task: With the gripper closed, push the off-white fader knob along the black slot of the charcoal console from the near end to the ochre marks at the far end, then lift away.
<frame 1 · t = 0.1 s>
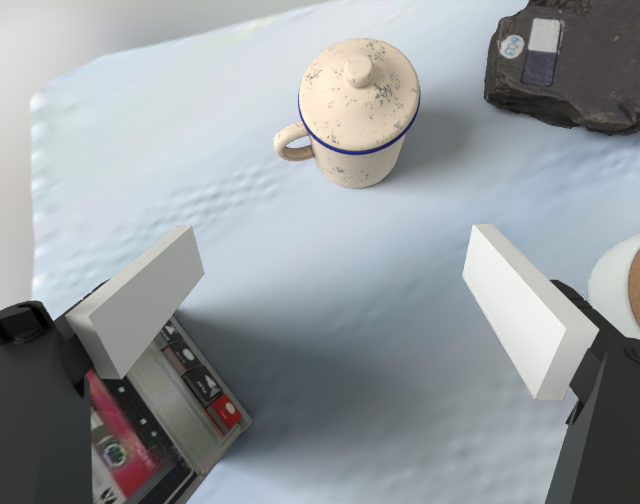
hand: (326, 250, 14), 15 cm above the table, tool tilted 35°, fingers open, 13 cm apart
rock sample: (563, 81, 30), on the table
cassette tape recorder: (190, 380, 30), on the table
teacup with lid: (342, 154, 31), on the table
lidded jar: (623, 294, 27), on the table
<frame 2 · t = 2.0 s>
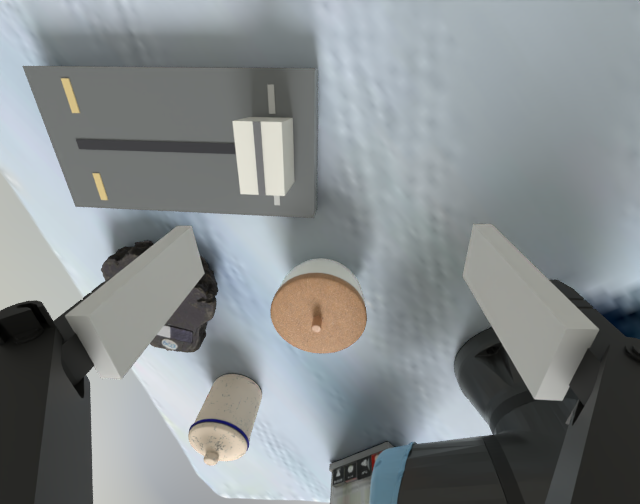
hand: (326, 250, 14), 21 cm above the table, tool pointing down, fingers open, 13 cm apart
fader console: (192, 143, 34), on the table
fader knob: (267, 155, 28), point 6 cm above the table, slide at 0.0 cm
rock sample: (179, 286, 44), on the table
cassette tape recorder: (366, 458, 58), on the table
teacup with lid: (241, 394, 53), on the table
lidded jar: (324, 279, 40), on the table
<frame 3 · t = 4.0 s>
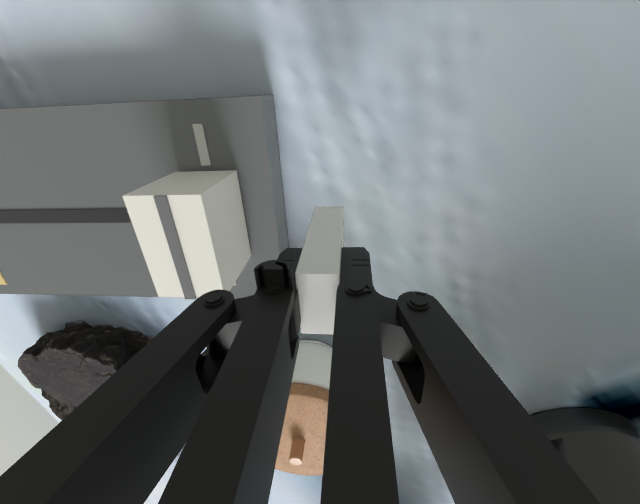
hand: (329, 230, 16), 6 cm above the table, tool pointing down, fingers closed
fader console: (112, 202, 24), on the table
fader knob: (198, 231, 18), point 6 cm above the table, slide at 0.0 cm
rock sample: (130, 369, 35), on the table
lidded jar: (311, 360, 31), on the table
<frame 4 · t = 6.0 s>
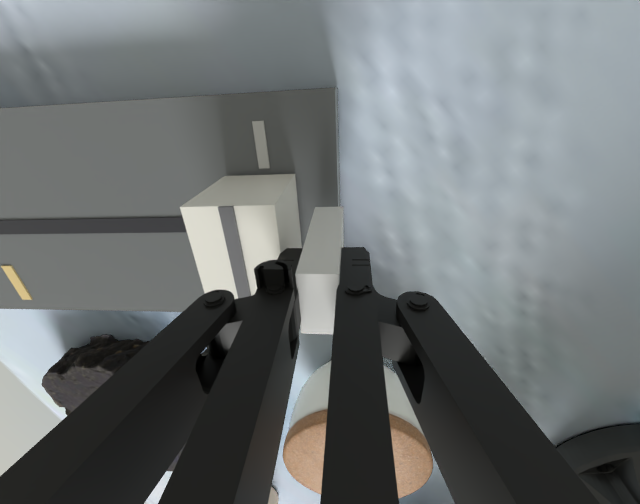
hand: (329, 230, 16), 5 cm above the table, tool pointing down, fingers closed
fader console: (147, 208, 22), on the table
fader knob: (254, 244, 16), point 6 cm above the table, slide at 0.3 cm, touching gripper
rock sample: (158, 384, 33), on the table
teacup with lid: (253, 494, 42), on the table
lidded jar: (354, 374, 29), on the table
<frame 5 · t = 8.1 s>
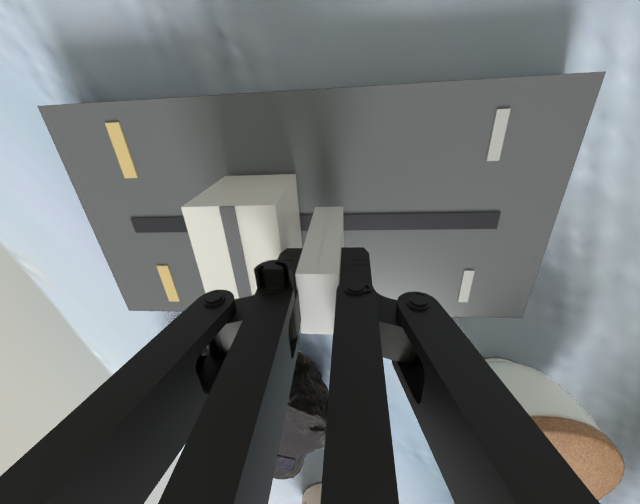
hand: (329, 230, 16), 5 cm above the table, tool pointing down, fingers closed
fader console: (310, 205, 21), on the table
fader knob: (255, 244, 16), point 6 cm above the table, slide at 12.2 cm, touching gripper
rock sample: (266, 388, 31), on the table
teacup with lid: (339, 501, 41), on the table
lidded jar: (487, 379, 27), on the table
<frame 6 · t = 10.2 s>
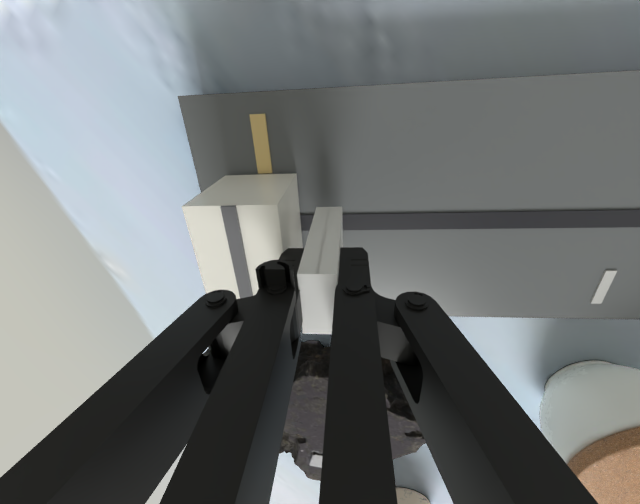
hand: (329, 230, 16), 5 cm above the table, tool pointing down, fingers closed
fader console: (431, 203, 20), on the table
fader knob: (256, 244, 16), point 6 cm above the table, slide at 20.2 cm, touching gripper
rock sample: (342, 392, 30), on the table
lidded jar: (581, 382, 27), on the table
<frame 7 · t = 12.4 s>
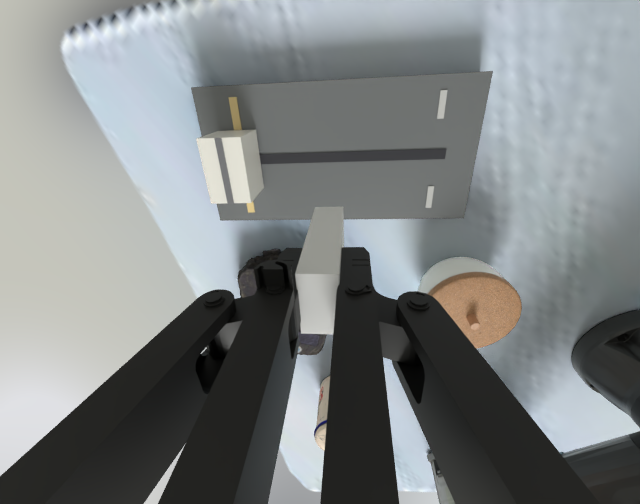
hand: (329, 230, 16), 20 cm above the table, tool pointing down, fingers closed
fader console: (337, 151, 34), on the table
fader knob: (233, 166, 30), point 6 cm above the table, slide at 20.0 cm
rock sample: (298, 292, 45), on the table
cassette tape recorder: (464, 447, 59), on the table
teacup with lid: (347, 392, 54), on the table
lidded jar: (450, 277, 41), on the table
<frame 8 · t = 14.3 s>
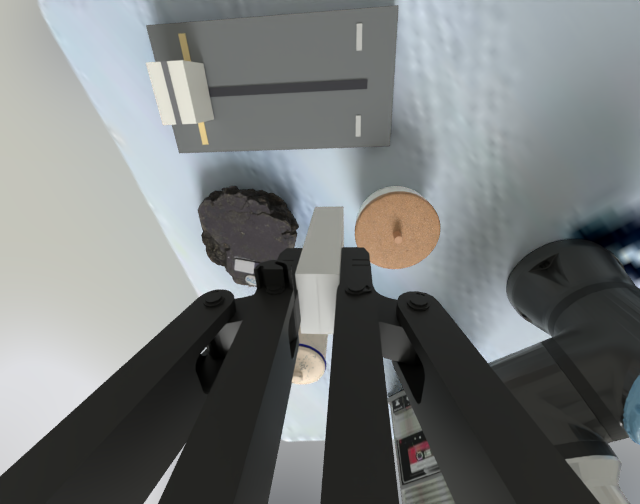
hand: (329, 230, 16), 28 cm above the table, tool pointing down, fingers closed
fader console: (279, 88, 39), on the table
fader knob: (183, 93, 35), point 6 cm above the table, slide at 20.0 cm
rock sample: (257, 230, 49), on the table
cassette tape recorder: (421, 389, 64), on the table
teacup with lid: (308, 333, 59), on the table
lidded jar: (390, 211, 46), on the table
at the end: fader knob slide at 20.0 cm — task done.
